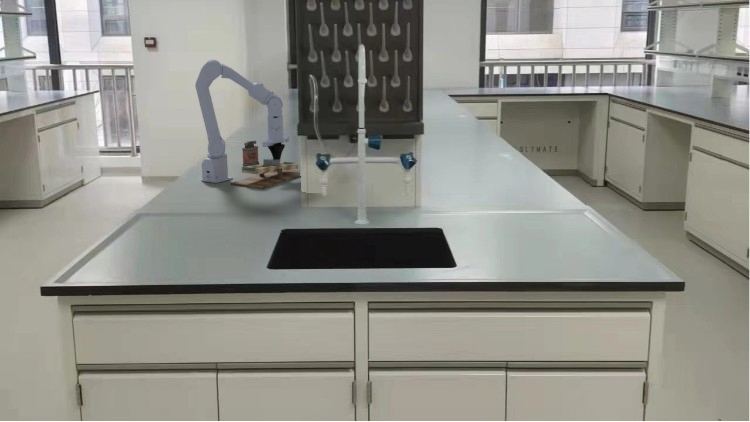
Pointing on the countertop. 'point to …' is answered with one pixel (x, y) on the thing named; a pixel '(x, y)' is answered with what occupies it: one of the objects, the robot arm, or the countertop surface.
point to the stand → (267, 179)
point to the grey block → (271, 162)
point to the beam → (269, 168)
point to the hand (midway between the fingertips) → (277, 163)
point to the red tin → (250, 154)
